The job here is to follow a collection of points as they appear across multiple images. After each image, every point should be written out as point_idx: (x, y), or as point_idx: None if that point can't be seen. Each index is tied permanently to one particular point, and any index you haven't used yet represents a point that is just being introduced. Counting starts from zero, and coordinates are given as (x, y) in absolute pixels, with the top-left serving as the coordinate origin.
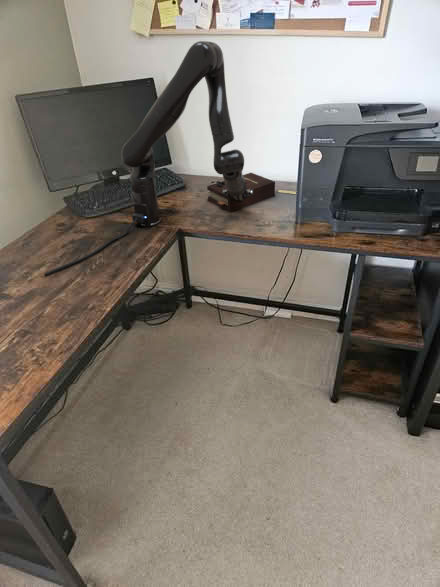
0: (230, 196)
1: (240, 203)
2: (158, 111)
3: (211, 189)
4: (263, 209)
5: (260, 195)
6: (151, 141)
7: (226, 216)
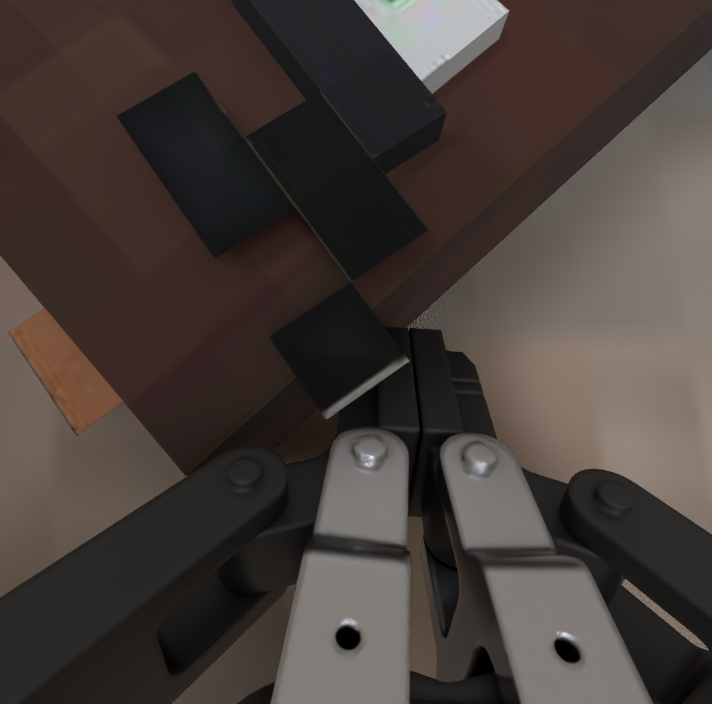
0: (188, 683)
1: None
2: None
3: None
4: (688, 378)
5: (660, 84)
6: None
7: None
